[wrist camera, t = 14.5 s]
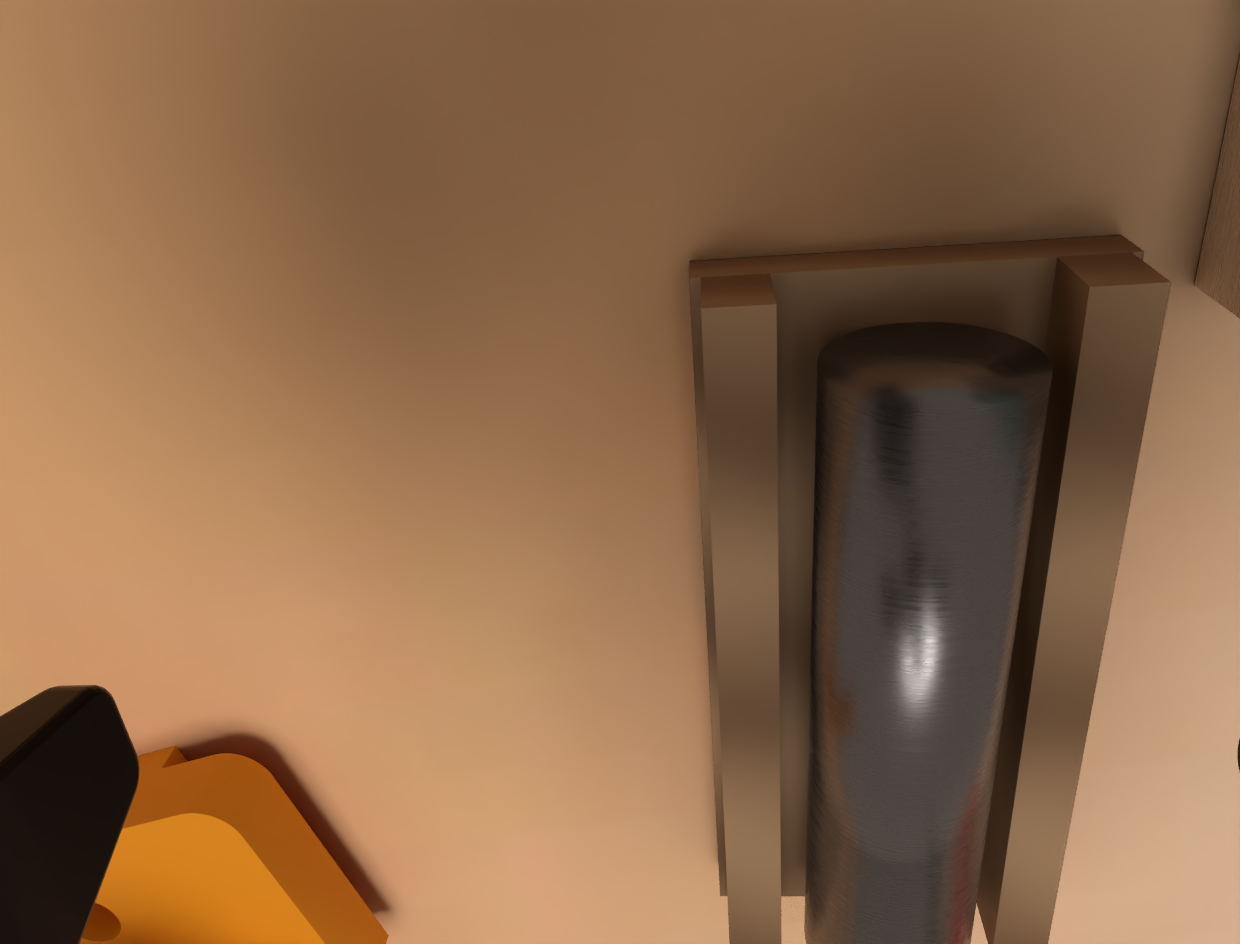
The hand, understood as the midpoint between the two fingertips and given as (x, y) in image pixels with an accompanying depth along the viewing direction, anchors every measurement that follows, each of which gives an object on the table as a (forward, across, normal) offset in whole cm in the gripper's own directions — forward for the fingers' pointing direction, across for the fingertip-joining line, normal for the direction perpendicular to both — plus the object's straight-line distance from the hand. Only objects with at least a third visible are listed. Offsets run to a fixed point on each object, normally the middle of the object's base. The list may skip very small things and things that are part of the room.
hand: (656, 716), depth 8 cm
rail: (+12, -4, +8) cm, 15 cm away
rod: (+11, -4, +8) cm, 14 cm away
